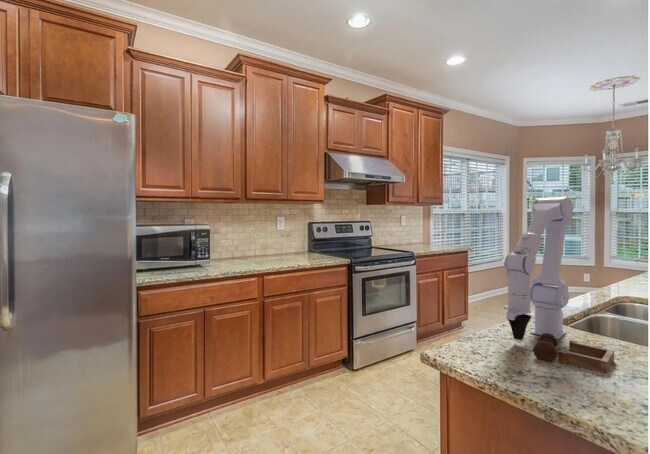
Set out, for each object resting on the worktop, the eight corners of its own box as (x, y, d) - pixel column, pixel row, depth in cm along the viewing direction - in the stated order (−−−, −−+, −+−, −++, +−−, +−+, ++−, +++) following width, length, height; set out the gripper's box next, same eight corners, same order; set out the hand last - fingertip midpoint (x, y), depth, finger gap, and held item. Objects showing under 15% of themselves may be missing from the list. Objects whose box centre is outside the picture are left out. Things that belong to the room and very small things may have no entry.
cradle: (570, 349, 99) (570, 339, 99) (614, 359, 92) (614, 349, 92) (557, 362, 90) (557, 351, 90) (605, 375, 83) (606, 363, 83)
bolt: (551, 351, 103) (548, 367, 91) (534, 339, 105) (528, 354, 93) (563, 336, 101) (561, 350, 89) (546, 325, 104) (541, 337, 92)
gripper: (513, 288, 110) (512, 330, 111) (495, 295, 100) (494, 341, 101) (538, 291, 105) (537, 335, 106) (522, 299, 95) (521, 348, 96)
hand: (518, 339), depth 103 cm, fingers closed
